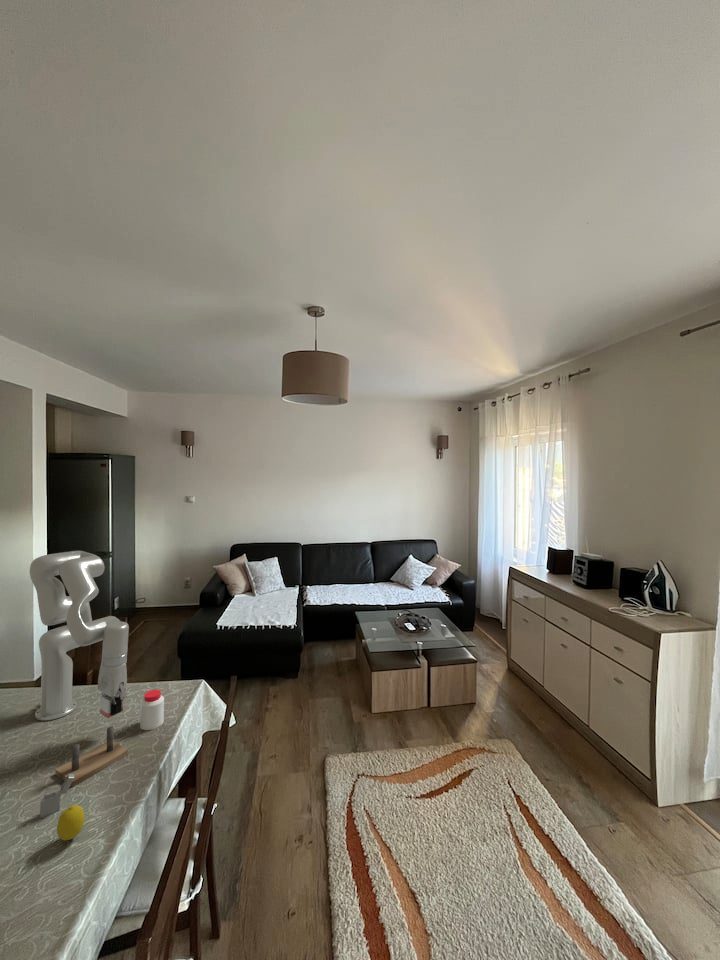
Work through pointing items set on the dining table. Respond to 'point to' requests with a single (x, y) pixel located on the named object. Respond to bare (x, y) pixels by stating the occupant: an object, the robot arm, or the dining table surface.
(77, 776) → the pin board
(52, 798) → the grey flat piece
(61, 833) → the lemon
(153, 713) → the pill bottle
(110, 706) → the sleeve
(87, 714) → the dining table surface
